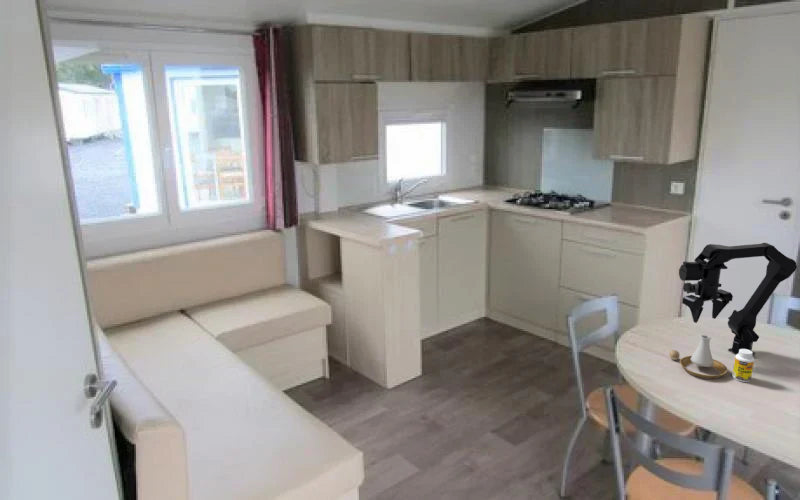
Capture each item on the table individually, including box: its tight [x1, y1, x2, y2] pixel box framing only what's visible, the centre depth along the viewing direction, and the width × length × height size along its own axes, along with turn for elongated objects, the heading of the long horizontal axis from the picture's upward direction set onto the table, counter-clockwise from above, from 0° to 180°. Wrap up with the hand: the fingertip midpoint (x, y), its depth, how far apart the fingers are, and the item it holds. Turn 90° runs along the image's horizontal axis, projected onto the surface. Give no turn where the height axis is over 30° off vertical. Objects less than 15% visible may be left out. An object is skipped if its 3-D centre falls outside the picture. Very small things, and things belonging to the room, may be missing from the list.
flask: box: [690, 334, 714, 368], centre depth 203 cm, size 7×7×10 cm
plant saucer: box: [679, 355, 728, 380], centre depth 204 cm, size 15×15×3 cm
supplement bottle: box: [731, 349, 755, 383], centre depth 196 cm, size 6×6×10 cm
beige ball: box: [668, 349, 681, 361], centre depth 212 cm, size 4×4×4 cm
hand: (704, 320), depth 213 cm, fingers open, 9 cm apart
